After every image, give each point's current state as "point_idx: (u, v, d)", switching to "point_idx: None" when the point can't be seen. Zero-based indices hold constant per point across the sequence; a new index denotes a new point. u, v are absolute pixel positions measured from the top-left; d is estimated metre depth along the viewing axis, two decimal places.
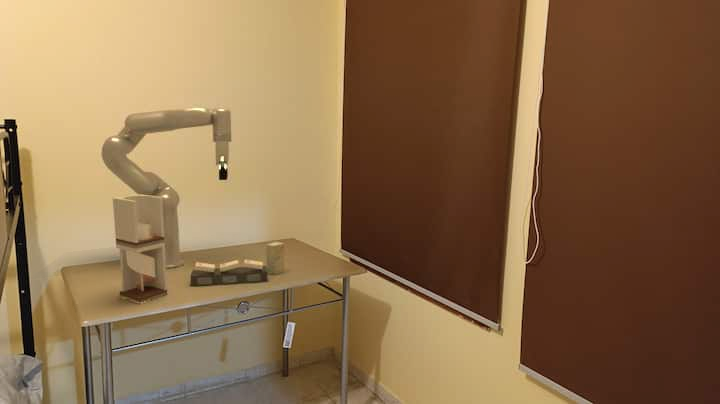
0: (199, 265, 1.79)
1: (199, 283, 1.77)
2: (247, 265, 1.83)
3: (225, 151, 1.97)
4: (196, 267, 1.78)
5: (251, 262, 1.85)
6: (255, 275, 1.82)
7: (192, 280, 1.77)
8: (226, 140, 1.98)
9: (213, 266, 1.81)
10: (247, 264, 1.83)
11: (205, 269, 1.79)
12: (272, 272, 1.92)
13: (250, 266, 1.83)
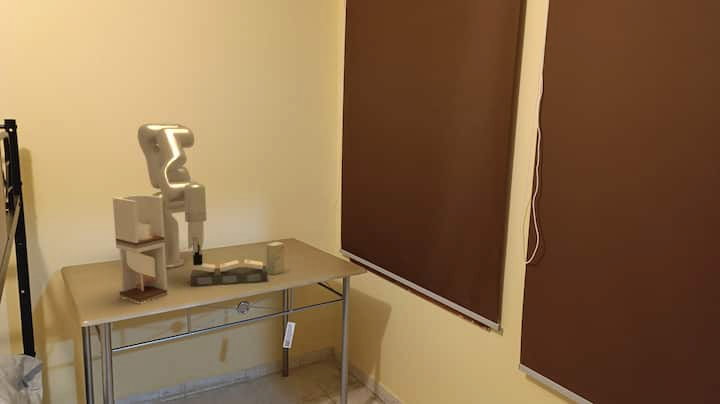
0: (199, 265, 1.79)
1: (199, 283, 1.77)
2: (247, 265, 1.83)
3: (199, 233, 1.74)
4: (196, 267, 1.78)
5: (251, 262, 1.85)
6: (255, 275, 1.82)
7: (192, 280, 1.77)
8: (200, 220, 1.74)
9: (213, 266, 1.81)
10: (247, 264, 1.83)
11: (205, 269, 1.79)
12: (272, 272, 1.92)
13: (250, 266, 1.83)
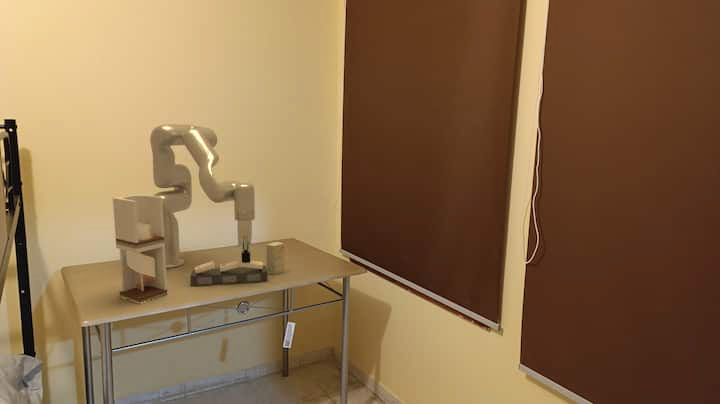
0: (198, 268, 1.79)
1: (199, 283, 1.77)
2: (247, 265, 1.83)
3: (248, 231, 1.78)
4: (196, 271, 1.78)
5: (251, 262, 1.85)
6: (255, 275, 1.82)
7: (192, 280, 1.77)
8: (249, 219, 1.79)
9: (212, 262, 1.81)
10: (247, 264, 1.83)
11: (205, 269, 1.79)
12: (272, 272, 1.92)
13: (250, 266, 1.83)
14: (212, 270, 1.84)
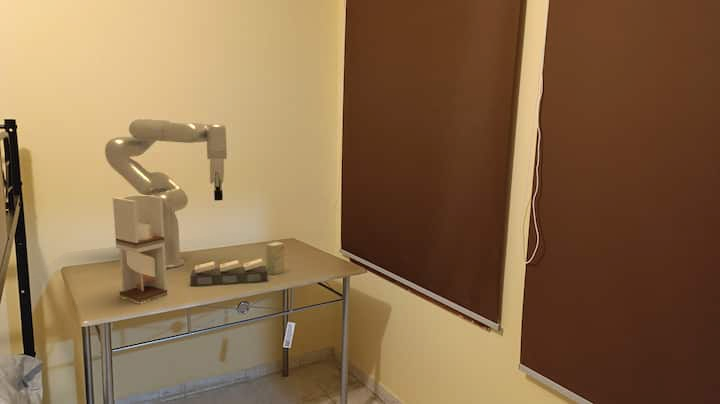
0: (198, 267, 1.79)
1: (199, 283, 1.77)
2: (247, 268, 1.83)
3: (220, 169, 1.88)
4: (196, 270, 1.78)
5: (250, 263, 1.85)
6: (255, 275, 1.82)
7: (192, 280, 1.77)
8: (221, 157, 1.89)
9: (212, 263, 1.81)
10: (247, 267, 1.83)
11: (205, 269, 1.79)
12: (272, 272, 1.92)
13: (250, 267, 1.83)
14: (212, 270, 1.84)
